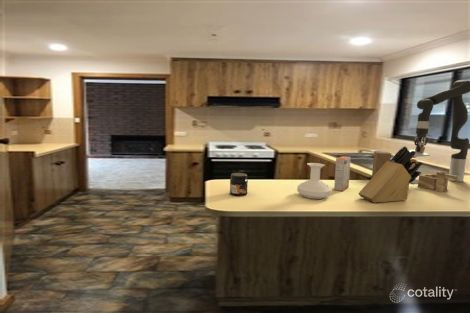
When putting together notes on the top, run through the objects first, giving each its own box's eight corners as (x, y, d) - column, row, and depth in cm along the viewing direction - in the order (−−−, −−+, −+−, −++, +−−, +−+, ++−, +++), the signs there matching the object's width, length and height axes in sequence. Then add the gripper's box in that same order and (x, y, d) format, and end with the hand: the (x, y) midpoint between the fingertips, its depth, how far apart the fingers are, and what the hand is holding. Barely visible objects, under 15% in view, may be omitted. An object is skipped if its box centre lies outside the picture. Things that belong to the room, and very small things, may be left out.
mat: (411, 178, 240) (411, 178, 240) (427, 182, 228) (427, 181, 228) (397, 180, 234) (397, 179, 234) (412, 184, 222) (413, 183, 222)
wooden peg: (439, 175, 206) (439, 171, 206) (458, 179, 195) (459, 175, 194) (436, 176, 205) (436, 171, 205) (455, 180, 194) (456, 175, 193)
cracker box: (339, 186, 210) (342, 155, 207) (348, 187, 207) (351, 156, 204) (333, 190, 199) (335, 158, 196) (342, 191, 195) (345, 159, 192)
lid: (414, 152, 232) (417, 143, 230) (428, 157, 222) (431, 148, 220) (401, 152, 226) (403, 144, 224) (415, 158, 216) (418, 149, 214)
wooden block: (388, 179, 235) (391, 153, 232) (374, 178, 237) (377, 152, 234) (385, 176, 245) (387, 151, 242) (371, 175, 247) (374, 151, 244)
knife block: (420, 199, 181) (426, 147, 177) (371, 204, 171) (376, 148, 166) (404, 194, 192) (410, 145, 187) (357, 198, 181) (362, 146, 177)
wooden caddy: (431, 184, 221) (433, 167, 219) (454, 190, 206) (456, 172, 204) (417, 186, 215) (419, 168, 213) (440, 192, 201) (443, 173, 199)
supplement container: (231, 197, 177) (231, 176, 176) (228, 192, 188) (228, 172, 186) (249, 196, 179) (249, 176, 178) (245, 191, 190) (245, 172, 188)
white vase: (317, 190, 196) (319, 161, 193) (338, 199, 177) (341, 166, 175) (290, 193, 189) (292, 162, 186) (308, 202, 171) (311, 168, 168)
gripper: (421, 127, 216) (418, 152, 218) (433, 127, 221) (430, 151, 224) (411, 127, 222) (408, 151, 225) (423, 127, 228) (421, 150, 231)
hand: (419, 151), depth 225 cm, fingers closed on lid, 2 cm apart
